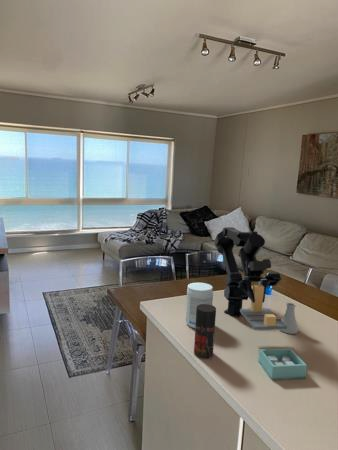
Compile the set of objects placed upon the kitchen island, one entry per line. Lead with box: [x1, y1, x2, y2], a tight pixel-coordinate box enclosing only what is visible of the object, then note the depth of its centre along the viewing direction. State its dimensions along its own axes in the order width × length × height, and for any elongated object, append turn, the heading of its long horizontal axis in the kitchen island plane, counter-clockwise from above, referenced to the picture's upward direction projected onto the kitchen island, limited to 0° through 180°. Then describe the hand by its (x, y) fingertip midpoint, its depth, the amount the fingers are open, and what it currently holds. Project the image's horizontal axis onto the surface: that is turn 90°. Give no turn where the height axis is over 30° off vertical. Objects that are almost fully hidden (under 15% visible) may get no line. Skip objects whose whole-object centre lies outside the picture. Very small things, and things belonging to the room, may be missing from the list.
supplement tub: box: [185, 282, 214, 329], centre depth 122 cm, size 10×10×15 cm
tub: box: [257, 348, 308, 381], centre depth 96 cm, size 9×10×4 cm
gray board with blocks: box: [240, 283, 287, 331], centre depth 108 cm, size 13×11×10 cm
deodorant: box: [193, 304, 217, 360], centre depth 102 cm, size 6×6×15 cm
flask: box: [278, 302, 300, 335], centre depth 121 cm, size 7×7×10 cm
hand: (258, 302), depth 112 cm, fingers closed on gray board with blocks, 3 cm apart
